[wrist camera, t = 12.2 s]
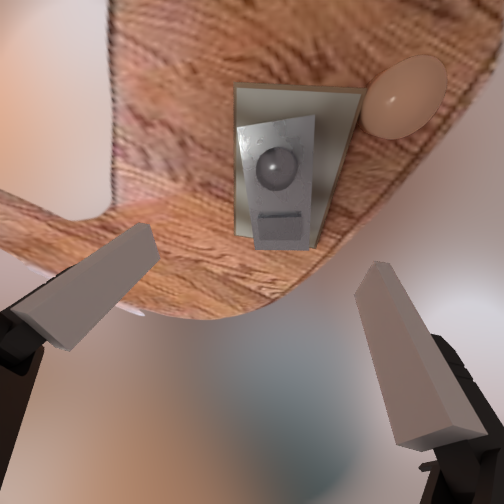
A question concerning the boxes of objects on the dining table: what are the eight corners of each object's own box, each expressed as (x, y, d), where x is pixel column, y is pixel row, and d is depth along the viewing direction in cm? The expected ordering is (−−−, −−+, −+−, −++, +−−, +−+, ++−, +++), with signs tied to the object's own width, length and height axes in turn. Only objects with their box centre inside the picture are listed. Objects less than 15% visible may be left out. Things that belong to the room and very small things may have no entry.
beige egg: (368, 65, 20) (384, 54, 16) (431, 67, 19) (465, 55, 15) (348, 133, 23) (357, 136, 19) (400, 137, 23) (421, 142, 19)
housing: (307, 227, 29) (309, 254, 23) (262, 228, 30) (253, 253, 25) (312, 114, 21) (315, 114, 15) (250, 124, 22) (234, 127, 17)
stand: (239, 84, 23) (232, 81, 21) (361, 90, 21) (368, 87, 19) (237, 228, 35) (233, 236, 32) (315, 240, 33) (316, 250, 31)
